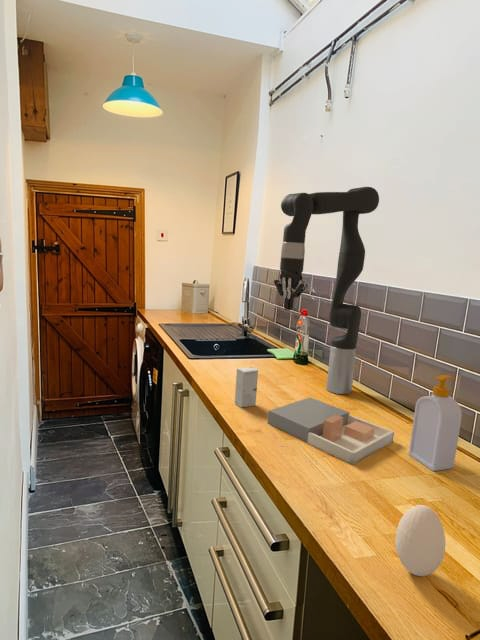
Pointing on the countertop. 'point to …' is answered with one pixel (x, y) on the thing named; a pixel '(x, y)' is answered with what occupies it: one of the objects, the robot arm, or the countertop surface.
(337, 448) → the tray
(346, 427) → the tile
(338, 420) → the tile
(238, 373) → the skincare box
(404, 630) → the countertop surface
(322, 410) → the board
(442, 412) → the soap bottle
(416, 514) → the egg
